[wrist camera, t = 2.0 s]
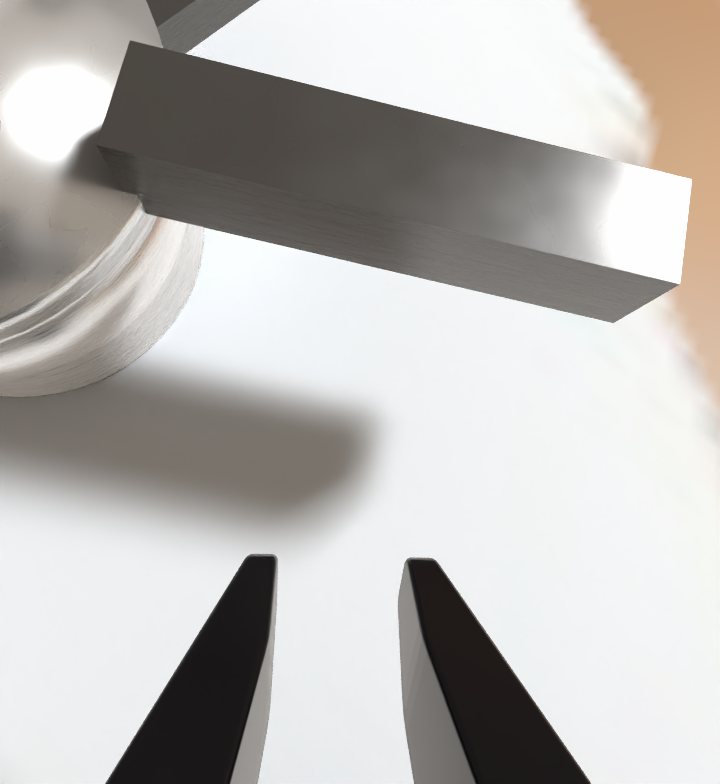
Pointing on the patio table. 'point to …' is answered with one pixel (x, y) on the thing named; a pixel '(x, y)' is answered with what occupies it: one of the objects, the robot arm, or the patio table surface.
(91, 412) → the patio table surface
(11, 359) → the cooker pot
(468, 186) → the cooker lid
